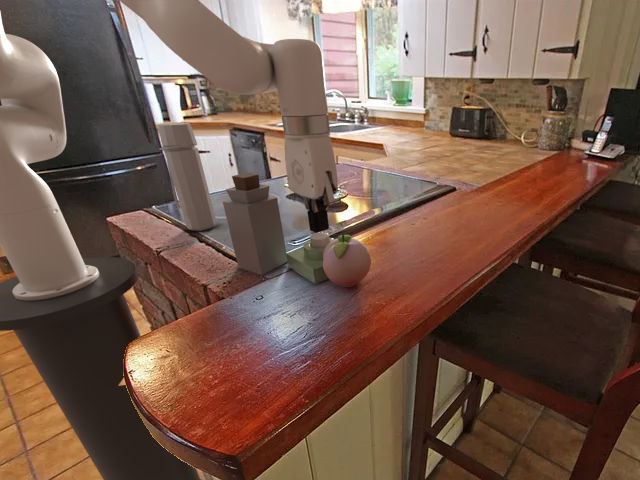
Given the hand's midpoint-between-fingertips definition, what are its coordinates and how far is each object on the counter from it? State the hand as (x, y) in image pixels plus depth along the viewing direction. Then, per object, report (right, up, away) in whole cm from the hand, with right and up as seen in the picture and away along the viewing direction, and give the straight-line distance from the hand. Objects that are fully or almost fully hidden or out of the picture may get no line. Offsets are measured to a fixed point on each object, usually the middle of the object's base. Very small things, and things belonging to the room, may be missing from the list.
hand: (319, 229), depth 68 cm
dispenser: (0, -7, +4) cm, 8 cm away
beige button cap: (0, -3, +1) cm, 3 cm away
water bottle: (-37, +3, +26) cm, 45 cm away
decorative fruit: (+6, -11, -4) cm, 13 cm away
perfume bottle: (-12, -7, +5) cm, 15 cm away
